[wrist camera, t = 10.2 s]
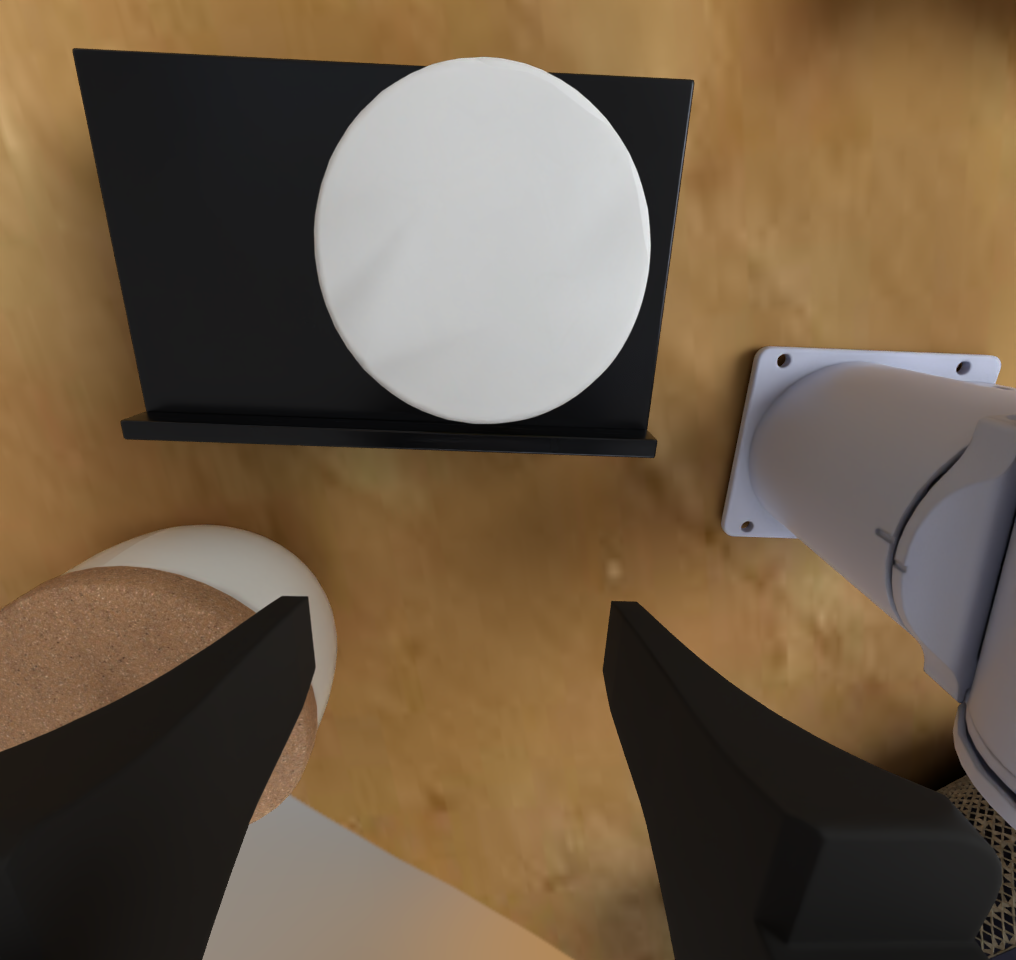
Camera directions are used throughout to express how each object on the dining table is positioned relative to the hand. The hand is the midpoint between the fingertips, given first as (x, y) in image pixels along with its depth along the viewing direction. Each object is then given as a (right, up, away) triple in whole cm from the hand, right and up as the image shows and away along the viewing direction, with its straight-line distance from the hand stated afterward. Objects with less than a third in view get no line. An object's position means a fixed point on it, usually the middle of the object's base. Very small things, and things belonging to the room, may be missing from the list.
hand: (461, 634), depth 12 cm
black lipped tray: (-2, +11, +7) cm, 13 cm away
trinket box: (-11, -2, +12) cm, 16 cm away
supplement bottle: (+1, +10, +3) cm, 10 cm away
